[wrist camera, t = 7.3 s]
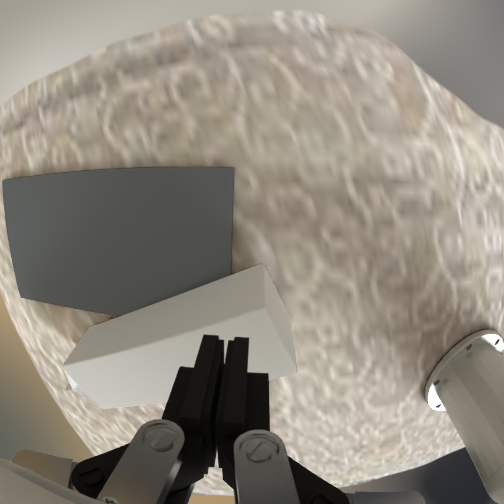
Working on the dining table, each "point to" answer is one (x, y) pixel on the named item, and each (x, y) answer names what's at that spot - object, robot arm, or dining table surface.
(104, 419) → the dining table surface
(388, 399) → the dining table surface
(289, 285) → the dining table surface
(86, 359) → the milk
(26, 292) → the mat
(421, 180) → the dining table surface
